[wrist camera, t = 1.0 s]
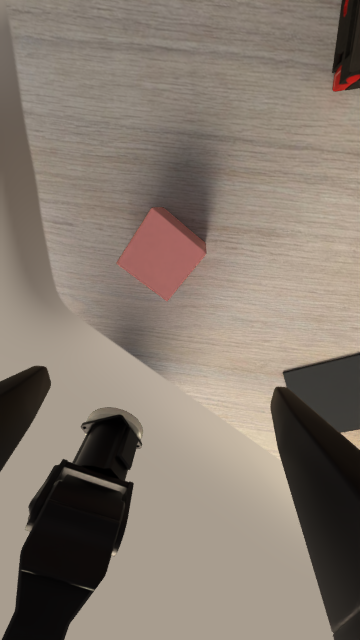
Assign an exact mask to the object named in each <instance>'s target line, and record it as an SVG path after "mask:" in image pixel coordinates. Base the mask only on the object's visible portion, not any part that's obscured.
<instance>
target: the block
mask: <svg viewBox="0 0 360 640" xmlns="http://www.w3.org/2000/svg"><path fill="white" fill-rule="evenodd" d="M205 255H206V243H205V242H203V241H202V240H201V239H200V238H199V237H198V236H196V235H195V234H194V233H193V232H192V231H190V230H189V229H188V228H187V227H186V226H185V225H183V224H182V223H181V222H180V221H179V220H178V219H176V218H175V217H174V216H173V215H172V214H171V213H169V212H168V211H167V210H166V209H165V208H163V207H152V208H151V210H150V211H149V213H148V214H147V216H146V217H145V219H144V221H143V222H142V224H141V225H140V227H139V228H138V230H137V231H136V233H135V235H134V236H133V238H132V239H131V241H130V242H129V244H128V246H127V247H126V249H125V250H124V252H123V253H122V255H121V256H120V258H119V260H118V261H117V263H116V264H118V265H119V266H120V267H122V268H123V269H124V270H126V271H127V272H128V273H130V274H131V275H132V276H134V277H135V278H136V279H138V280H139V281H140V282H142V283H143V284H144V285H146V286H147V287H148V288H150V289H151V290H152V291H154V292H155V293H157V294H158V295H159V296H161V297H162V298H163V299H165V300H166V301H168V300H169V299H170V297H171V296H172V295H173V294H174V293H175V291H176V290H177V289H178V288H179V286H180V285H181V284H182V283H183V282H184V280H185V279H186V278H187V277H188V275H189V274H190V273H191V272H192V271H193V269H194V268H195V267H196V266H197V265H198V263H199V262H200V261H201V260H202V258H203V257H204V256H205Z"/></svg>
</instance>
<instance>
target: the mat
mask: <svg viewBox="0 0 360 640" xmlns="http://www.w3.org/2000/svg"><path fill="white" fill-rule="evenodd" d="M283 375H284V379H285V382H286V386H287V388H288V389H290V390H291V391H292V392H293V393H294V394H296V395H297V396H298V397H299V398H300V399H301V400H302V401H304V402H305V403H306V404H307V405H308V406H309V407H311V408H312V409H313V410H314V411H315V412H316V413H318V414H319V415H320V416H321V417H322V418H323V419H324V420H326V421H327V422H328V423H329V424H330V425H331V426H333V427H334V428H335V429H336V430H337V431H338V432H339V433H341V432H347V431H353V430H359V429H360V354H357V355H353V356H349V357H345V358H341V359H337V360H332V361H328V362H324V363H320V364H316V365H312V366H308V367H303V368H299V369H295V370H291V371H287V372H283Z"/></svg>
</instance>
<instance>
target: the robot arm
mask: <svg viewBox="0 0 360 640" xmlns="http://www.w3.org/2000/svg"><path fill="white" fill-rule="evenodd" d="M50 386H51V381H50V377H49V374H48V371H47V368H46V367H44V366H33V367H31V368H29V369H27V370H24V371H22V372H20V373H18V374H16V375H13V376H11V377H9V378H7V379H5V380H3V381H0V471H1V470H2V468H3V467H4V465H5V464H6V462H7V461H8V459H9V458H10V456H11V455H12V453H13V451H14V450H15V448H16V447H17V445H18V444H19V442H20V441H21V439H22V437H23V436H24V434H25V433H26V431H27V430H28V428H29V427H30V425H31V423H32V421H33V420H34V418H35V416H36V414H37V412H38V410H39V408H40V406H41V405H42V403H43V401H44V399H45V397H46V395H47V393H48V391H49V389H50ZM271 413H272V419H273V424H274V430H275V435H276V441H277V446H278V450H279V454H280V457H281V461H282V464H283V467H284V471H285V474H286V478H287V481H288V484H289V488H290V491H291V495H292V498H293V501H294V505H295V508H296V511H297V515H298V518H299V522H300V525H301V528H302V532H303V535H304V538H305V542H306V545H307V548H308V552H309V555H310V559H311V562H312V566H313V569H314V572H315V575H316V579H317V582H318V586H319V589H320V592H321V595H322V599H323V603H324V606H325V609H326V613H327V616H328V619H329V623H330V626H331V630H332V632H333V633H334V634H333V637H334V640H360V450H359V449H358V448H357V447H356V446H354V445H353V444H352V443H351V442H350V441H349V440H348V439H346V438H345V437H344V436H343V435H342V434H341V433H339V432H338V431H337V430H336V429H335V428H334V427H333V426H331V425H330V424H329V423H328V422H327V421H326V420H324V419H323V418H322V417H321V416H320V415H319V414H318V413H316V412H315V411H314V410H313V409H312V408H311V407H309V406H308V405H307V404H306V403H305V402H304V401H302V400H301V399H300V398H299V397H298V396H297V395H296V394H294V393H293V392H292V391H291V390H290V389H288V388H286V387H276V388H275V390H274V393H273V396H272V400H271ZM81 428H82V430H83V431H84V432H85V433H86V437H85V439H84V441H83V443H82V445H81V447H80V449H79V451H78V453H77V455H76V456H75V459H74V461H73V463H71V462H68V461H67V460H65V459H63V460H62V462H61V463H60V464H59V465H55V466H54V467H53V469H52V471H51V473H50V474H49V476H48V478H47V479H46V481H45V482H44V484H43V485H42V487H41V488H40V489H39V491H38V492H37V494H36V495H35V496H34V498H33V499H32V501H31V502H30V504H29V513H30V515H29V517H28V523H27V525H26V527H25V530H27V531H30V534H29V536H28V537H27V539H26V542H25V543H24V545H23V547H22V550H21V554H20V563H19V575H18V585H17V596H16V607H15V612H14V614H13V616H12V618H11V621H10V623H9V625H8V627H7V629H6V632H5V634H4V636H3V638H2V640H64V639H65V635H66V632H67V630H68V627H69V624H70V622H71V621H72V620H73V619H74V617H75V616H76V615H77V613H78V612H79V611H80V609H81V608H82V606H83V605H84V604H85V603H86V601H87V600H88V598H89V597H90V596H91V594H92V593H93V592H94V590H95V589H96V588H97V586H98V585H99V584H100V582H101V581H102V580H103V578H104V576H105V574H106V572H107V568H108V565H109V561H110V558H111V556H115V555H116V554H117V551H118V549H119V547H120V544H121V541H122V538H123V535H124V532H125V528H126V524H127V519H128V514H129V508H130V502H131V496H132V490H133V482H127V481H125V478H126V475H127V471H128V470H130V468H131V466H132V462H133V458H134V455H135V451H136V449H140V448H141V446H142V443H141V441H140V440H139V438H138V437H137V435H136V434H135V432H134V431H133V430H132V428H131V427H130V425H129V424H128V422H127V421H126V419H125V418H124V416H123V415H121V414H118V415H114V416H110V417H105V418H101V419H97V420H93V421H89V422H84V423H83V424H82V425H81Z"/></svg>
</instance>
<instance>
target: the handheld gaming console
mask: <svg viewBox="0 0 360 640" xmlns="http://www.w3.org/2000/svg"><path fill="white" fill-rule="evenodd" d="M334 72H336V73H335V75H334V82H333V91H335V92H336V91H342V90H350V89H356V88H360V0H342V5H341V13H340V20H339V27H338V34H337V42H336V49H335V56H334V64H333V71H332V73H334Z"/></svg>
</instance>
